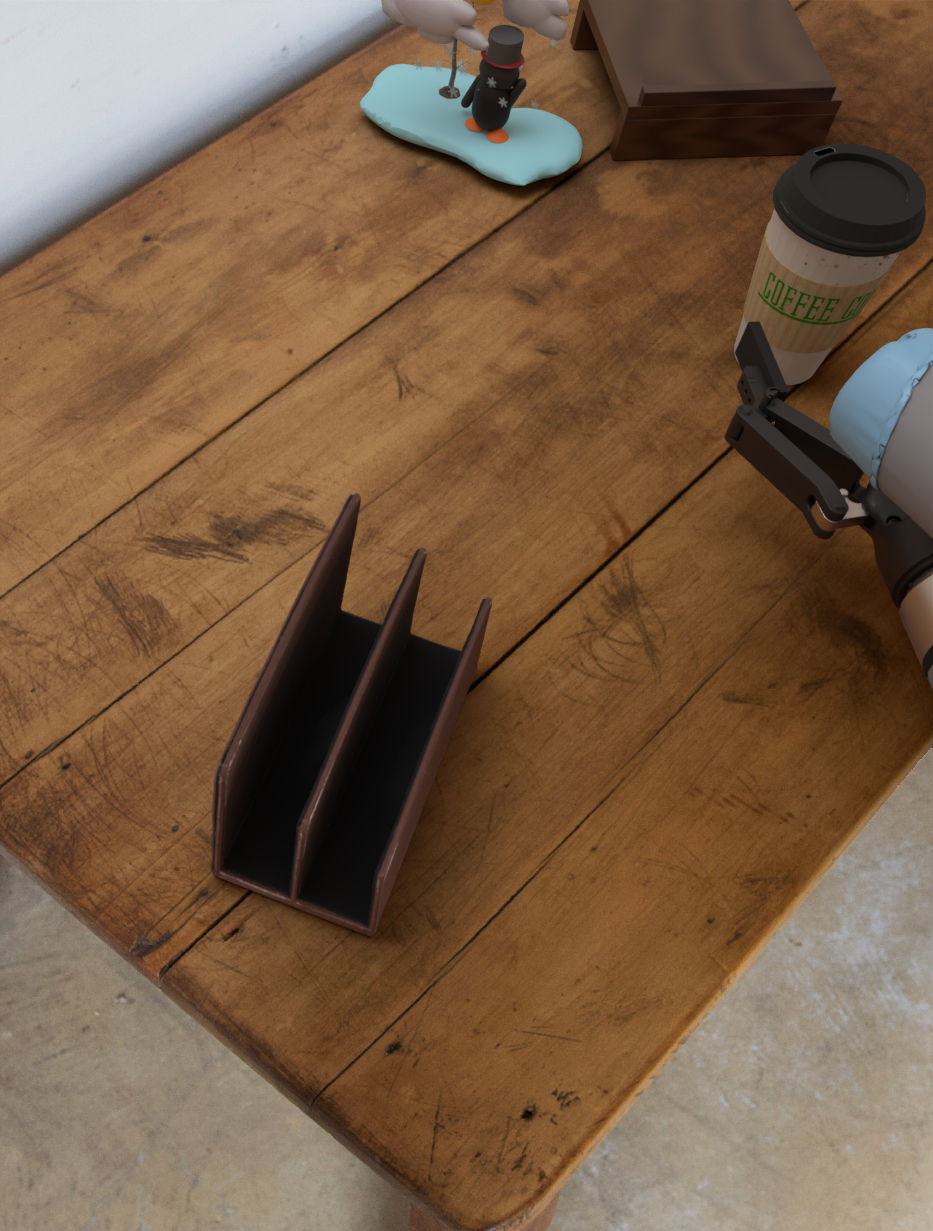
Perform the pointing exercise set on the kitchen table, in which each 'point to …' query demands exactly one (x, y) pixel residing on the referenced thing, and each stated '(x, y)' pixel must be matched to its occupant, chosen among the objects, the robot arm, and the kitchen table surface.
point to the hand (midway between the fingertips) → (845, 332)
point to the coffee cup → (829, 249)
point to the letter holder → (338, 746)
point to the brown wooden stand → (709, 77)
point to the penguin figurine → (476, 92)
